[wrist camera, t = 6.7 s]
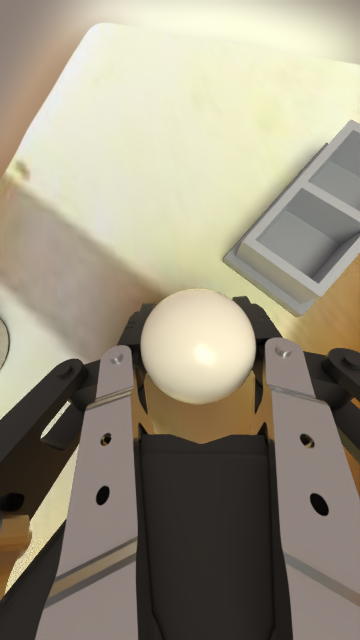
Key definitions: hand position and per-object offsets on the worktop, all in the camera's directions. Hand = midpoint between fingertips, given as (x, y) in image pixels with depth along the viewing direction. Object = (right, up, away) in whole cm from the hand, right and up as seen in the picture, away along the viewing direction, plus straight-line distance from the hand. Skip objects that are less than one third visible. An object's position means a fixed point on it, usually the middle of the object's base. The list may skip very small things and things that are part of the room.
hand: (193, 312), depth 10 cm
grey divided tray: (+13, +9, +7) cm, 18 cm away
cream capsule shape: (+1, -2, +4) cm, 5 cm away
